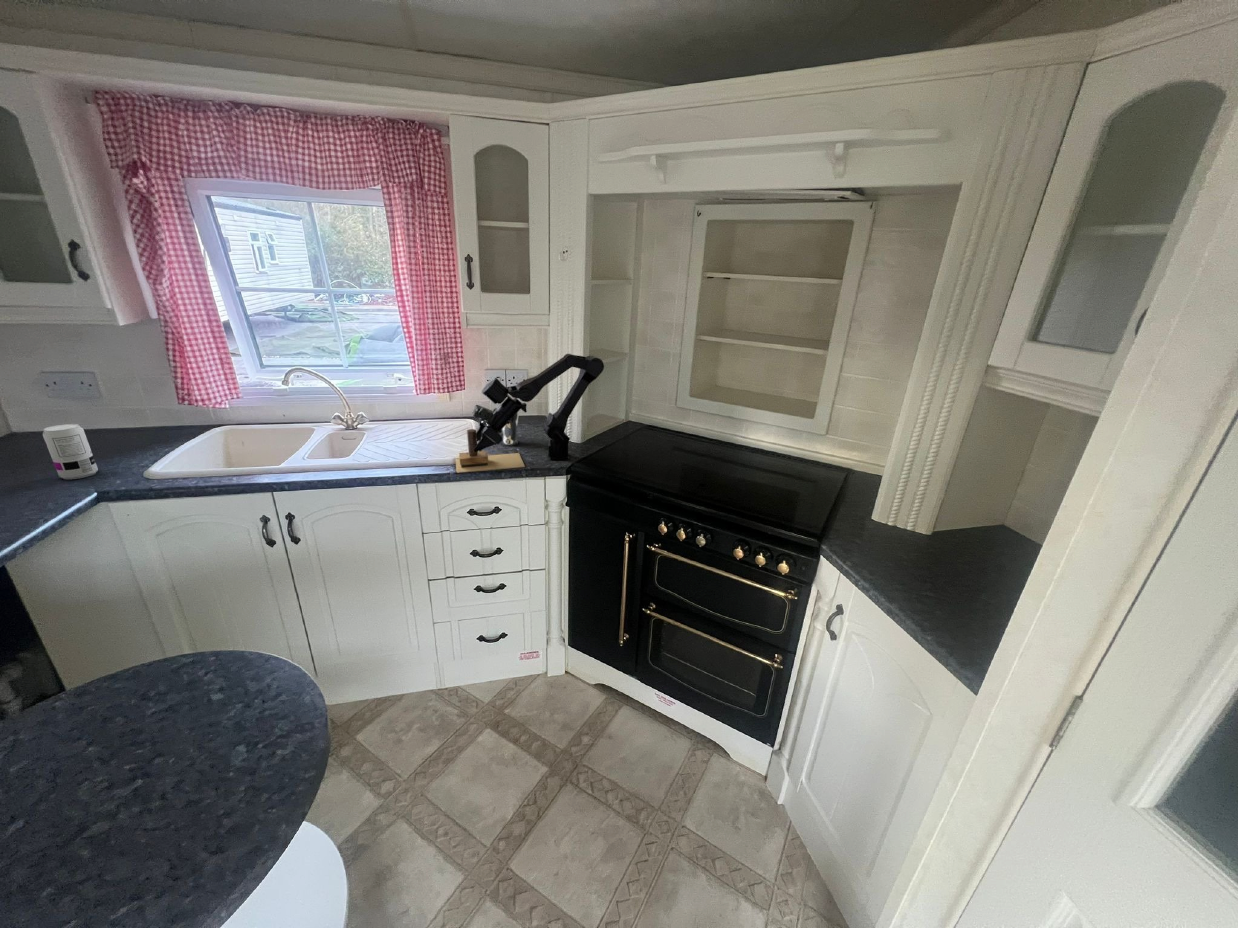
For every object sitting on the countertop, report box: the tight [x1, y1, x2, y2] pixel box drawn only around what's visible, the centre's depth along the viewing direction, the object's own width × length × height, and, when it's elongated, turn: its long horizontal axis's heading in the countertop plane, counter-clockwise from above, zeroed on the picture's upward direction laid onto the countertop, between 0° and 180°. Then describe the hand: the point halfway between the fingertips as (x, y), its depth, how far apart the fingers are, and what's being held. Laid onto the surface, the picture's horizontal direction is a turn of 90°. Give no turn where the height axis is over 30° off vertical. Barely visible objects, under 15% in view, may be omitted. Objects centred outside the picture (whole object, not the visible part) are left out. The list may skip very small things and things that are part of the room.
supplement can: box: [42, 423, 99, 480], centre depth 146 cm, size 8×8×15 cm
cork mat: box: [454, 452, 526, 474], centre depth 169 cm, size 22×14×1 cm, turn 109°
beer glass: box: [498, 404, 519, 447], centre depth 187 cm, size 7×7×15 cm
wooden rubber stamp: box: [458, 428, 489, 468], centre depth 165 cm, size 9×6×12 cm, turn 109°
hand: (473, 446), depth 165 cm, fingers open, 9 cm apart
